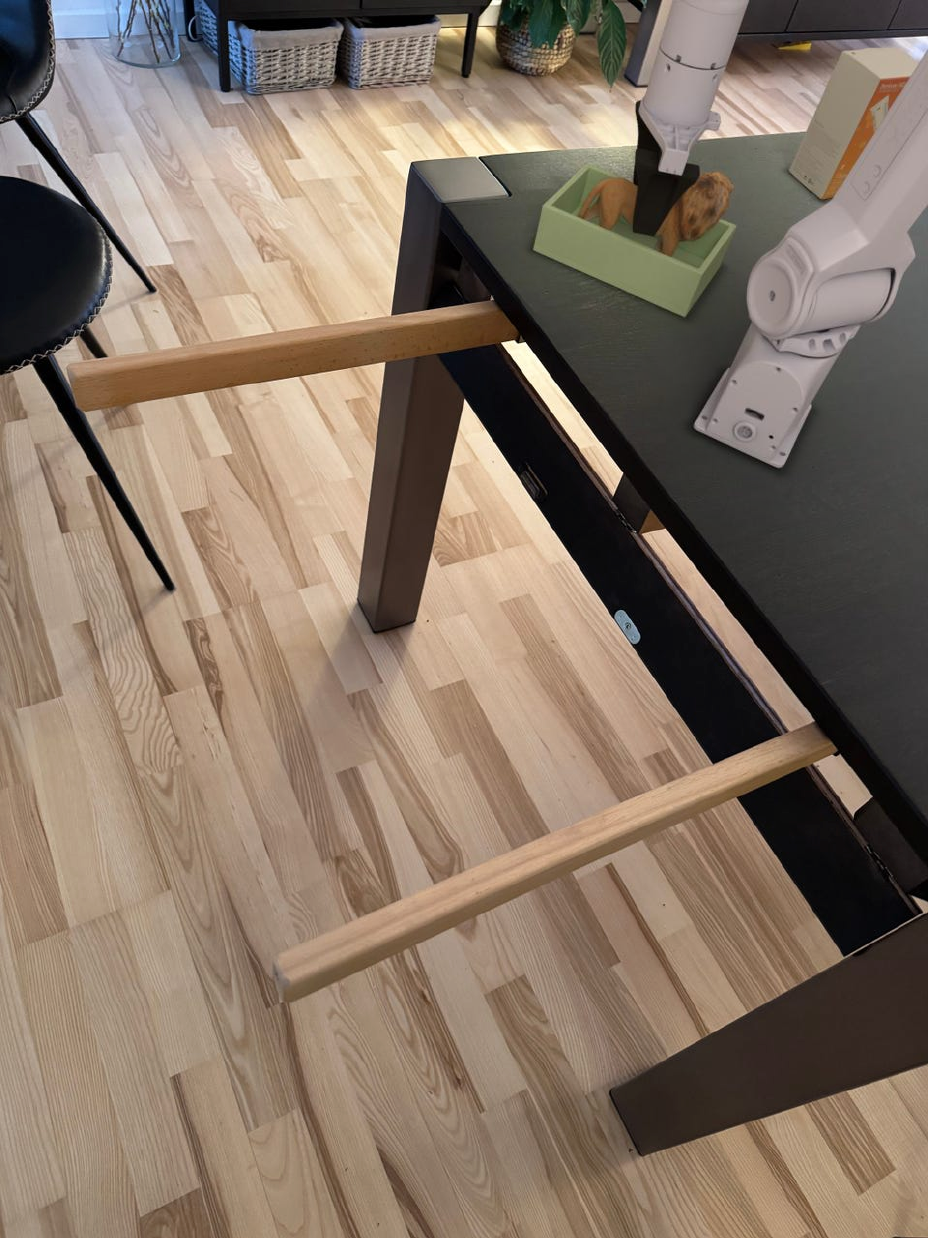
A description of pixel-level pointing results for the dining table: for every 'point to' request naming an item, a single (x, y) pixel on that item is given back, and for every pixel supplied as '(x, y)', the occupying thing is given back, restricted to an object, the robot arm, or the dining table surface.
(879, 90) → the small box
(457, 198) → the dining table surface
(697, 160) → the dining table surface
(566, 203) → the bin
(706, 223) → the lion figurine
